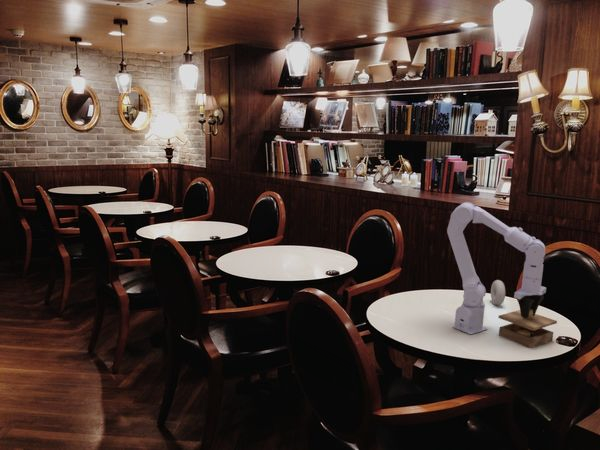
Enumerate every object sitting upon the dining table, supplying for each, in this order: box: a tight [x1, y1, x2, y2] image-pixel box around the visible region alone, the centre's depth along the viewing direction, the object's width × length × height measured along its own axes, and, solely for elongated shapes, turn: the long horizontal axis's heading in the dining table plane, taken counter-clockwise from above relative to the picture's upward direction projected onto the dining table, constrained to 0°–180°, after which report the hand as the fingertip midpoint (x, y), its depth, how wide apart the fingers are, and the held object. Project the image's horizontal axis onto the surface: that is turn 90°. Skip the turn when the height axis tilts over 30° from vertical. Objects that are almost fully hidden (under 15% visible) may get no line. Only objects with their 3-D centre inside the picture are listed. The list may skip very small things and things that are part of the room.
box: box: [498, 323, 554, 349], centre depth 178 cm, size 12×12×3 cm
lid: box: [498, 309, 558, 331], centre depth 177 cm, size 13×13×4 cm
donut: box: [490, 279, 506, 306], centre depth 211 cm, size 10×4×10 cm, turn 177°
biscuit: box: [516, 330, 531, 337], centre depth 182 cm, size 4×4×1 cm
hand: (527, 316), depth 177 cm, fingers closed on lid, 3 cm apart
